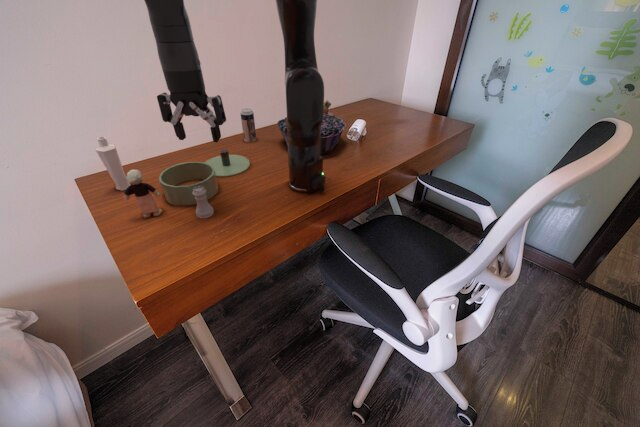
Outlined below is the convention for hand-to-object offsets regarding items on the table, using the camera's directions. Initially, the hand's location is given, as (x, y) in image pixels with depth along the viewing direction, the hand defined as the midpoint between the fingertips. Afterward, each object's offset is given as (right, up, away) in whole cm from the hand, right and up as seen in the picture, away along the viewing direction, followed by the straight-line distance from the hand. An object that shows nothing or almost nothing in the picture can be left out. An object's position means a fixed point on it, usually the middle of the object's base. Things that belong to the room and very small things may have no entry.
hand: (199, 139), depth 68 cm
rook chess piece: (0, -18, +5) cm, 19 cm away
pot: (-7, -12, +13) cm, 19 cm away
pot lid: (-2, -2, +25) cm, 25 cm away
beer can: (+2, +11, +44) cm, 45 cm away
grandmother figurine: (-15, -18, +4) cm, 24 cm away
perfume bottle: (-28, -10, +14) cm, 33 cm away
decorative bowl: (+26, +10, +43) cm, 51 cm away
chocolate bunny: (+32, +26, +64) cm, 77 cm away
